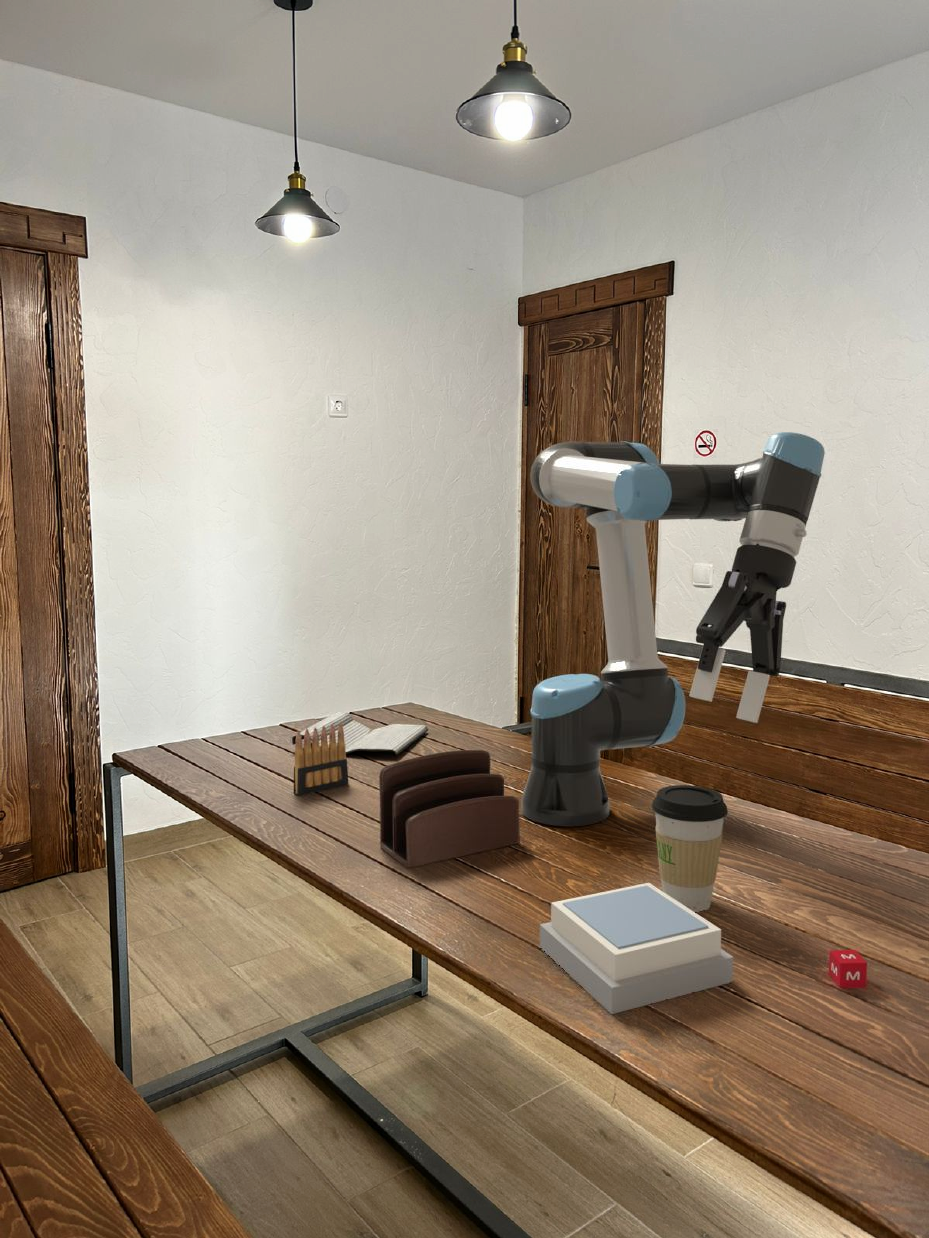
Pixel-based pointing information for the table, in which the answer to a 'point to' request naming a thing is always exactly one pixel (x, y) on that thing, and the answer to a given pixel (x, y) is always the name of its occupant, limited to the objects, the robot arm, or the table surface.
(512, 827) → the letter holder
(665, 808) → the coffee cup
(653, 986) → the plinth
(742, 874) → the table surface
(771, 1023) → the table surface
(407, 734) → the open book
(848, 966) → the red letter cube
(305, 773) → the ammunition clip
